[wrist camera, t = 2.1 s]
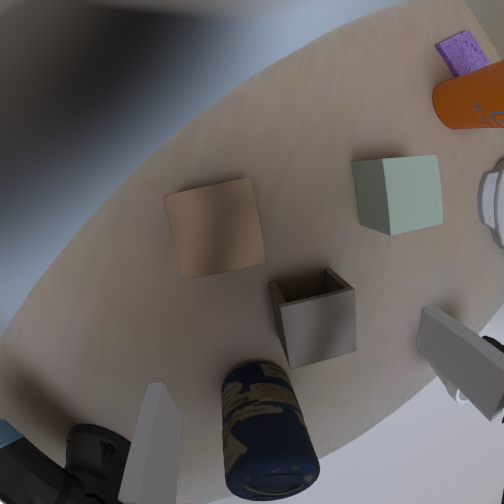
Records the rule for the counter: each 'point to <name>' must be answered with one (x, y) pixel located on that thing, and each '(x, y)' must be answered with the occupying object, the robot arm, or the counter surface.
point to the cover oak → (316, 323)
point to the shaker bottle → (472, 99)
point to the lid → (493, 202)
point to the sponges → (462, 53)
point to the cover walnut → (215, 228)
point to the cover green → (398, 193)
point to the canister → (265, 436)
